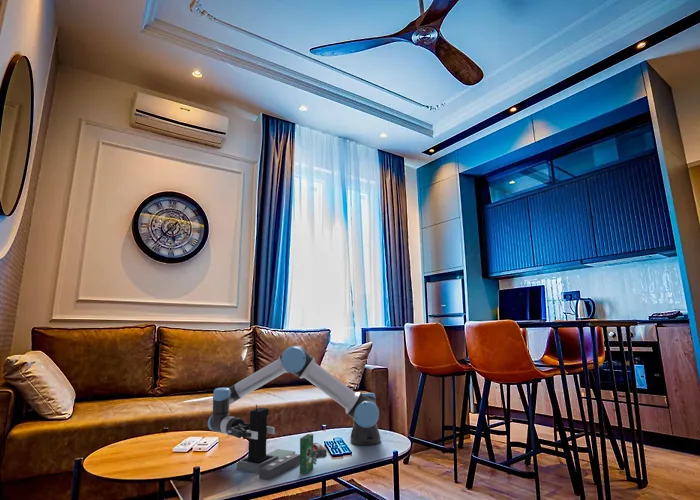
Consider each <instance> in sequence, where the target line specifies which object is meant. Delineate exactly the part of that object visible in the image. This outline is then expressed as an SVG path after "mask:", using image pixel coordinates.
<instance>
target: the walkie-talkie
mask: <svg viewBox="0 0 700 500" xmlns="http://www.w3.org/2000/svg"><path fill="white" fill-rule="evenodd" d="M327 453H328V451H327V449H326V448H325V447H324V446H323V445H322V444H321V443H318V442H313V462H318V460H317V459H316V458H319V457H326V456H327V455H328V454H327Z"/></svg>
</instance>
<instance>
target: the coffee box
mask: <svg viewBox="0 0 700 500" xmlns="http://www.w3.org/2000/svg"><path fill="white" fill-rule="evenodd" d="M313 443H314V434H313V433H307V434H305V435H304V436H302V437H301V438H299V454H300V464H299V475H307V474H308V473H309V472H310V471H311V470H313V468H314V460H313Z"/></svg>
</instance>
